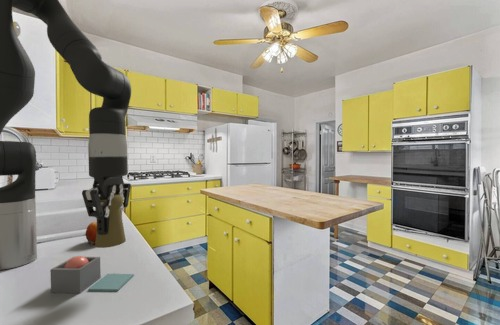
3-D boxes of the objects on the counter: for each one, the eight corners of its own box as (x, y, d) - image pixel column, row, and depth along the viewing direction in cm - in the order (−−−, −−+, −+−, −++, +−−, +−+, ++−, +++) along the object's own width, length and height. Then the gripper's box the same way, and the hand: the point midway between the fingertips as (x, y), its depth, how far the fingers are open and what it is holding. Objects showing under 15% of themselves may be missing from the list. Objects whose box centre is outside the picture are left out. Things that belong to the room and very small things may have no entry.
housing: (51, 292, 50) (50, 269, 50) (74, 277, 56) (74, 256, 56) (80, 293, 50) (79, 269, 50) (100, 277, 56) (100, 256, 56)
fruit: (74, 240, 77) (88, 217, 81) (97, 246, 83) (109, 224, 86) (85, 245, 73) (99, 220, 76) (108, 251, 78) (120, 227, 82)
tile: (88, 290, 51) (88, 288, 51) (107, 275, 57) (107, 273, 57) (117, 291, 50) (117, 289, 50) (133, 275, 57) (133, 274, 57)
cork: (131, 238, 55) (130, 192, 55) (111, 248, 50) (110, 196, 49) (109, 237, 57) (108, 192, 57) (87, 246, 51) (86, 196, 51)
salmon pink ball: (58, 285, 51) (57, 261, 51) (75, 274, 55) (74, 252, 55) (79, 285, 51) (78, 261, 50) (94, 275, 55) (93, 252, 55)
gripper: (103, 154, 46) (106, 242, 46) (140, 155, 60) (142, 222, 60) (66, 155, 46) (68, 242, 46) (112, 155, 60) (113, 222, 60)
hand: (110, 230), depth 53 cm, fingers closed on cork, 4 cm apart
